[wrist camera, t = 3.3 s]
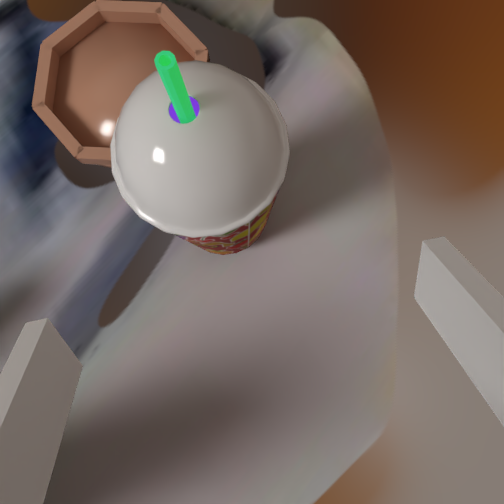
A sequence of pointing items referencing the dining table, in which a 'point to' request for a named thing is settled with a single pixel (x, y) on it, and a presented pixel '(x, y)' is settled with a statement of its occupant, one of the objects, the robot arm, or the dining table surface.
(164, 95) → the smoothie
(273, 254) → the dining table surface
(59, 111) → the saucer
